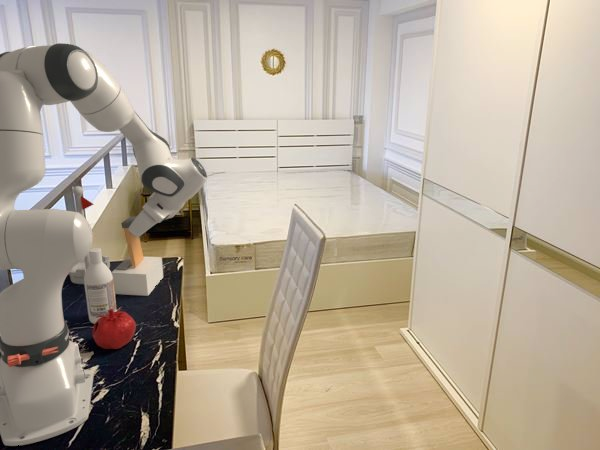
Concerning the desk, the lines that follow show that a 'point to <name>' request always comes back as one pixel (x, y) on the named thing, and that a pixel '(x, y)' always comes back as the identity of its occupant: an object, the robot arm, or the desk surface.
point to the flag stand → (81, 267)
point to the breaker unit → (137, 276)
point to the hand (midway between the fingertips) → (135, 233)
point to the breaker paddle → (132, 243)
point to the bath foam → (98, 287)
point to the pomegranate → (114, 329)
